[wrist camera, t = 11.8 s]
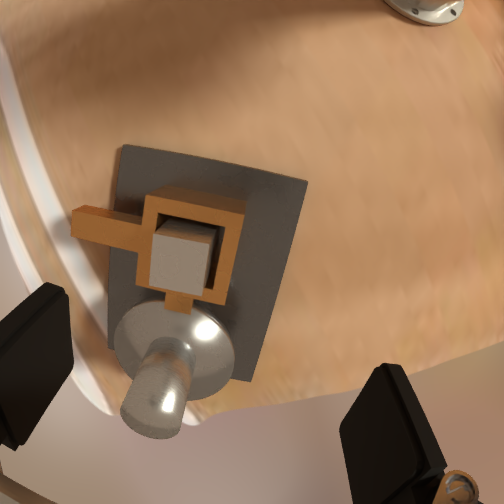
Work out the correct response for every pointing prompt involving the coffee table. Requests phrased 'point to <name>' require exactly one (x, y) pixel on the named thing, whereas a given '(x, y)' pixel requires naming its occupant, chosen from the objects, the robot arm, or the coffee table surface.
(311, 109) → the coffee table surface
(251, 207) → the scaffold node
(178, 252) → the grey block
